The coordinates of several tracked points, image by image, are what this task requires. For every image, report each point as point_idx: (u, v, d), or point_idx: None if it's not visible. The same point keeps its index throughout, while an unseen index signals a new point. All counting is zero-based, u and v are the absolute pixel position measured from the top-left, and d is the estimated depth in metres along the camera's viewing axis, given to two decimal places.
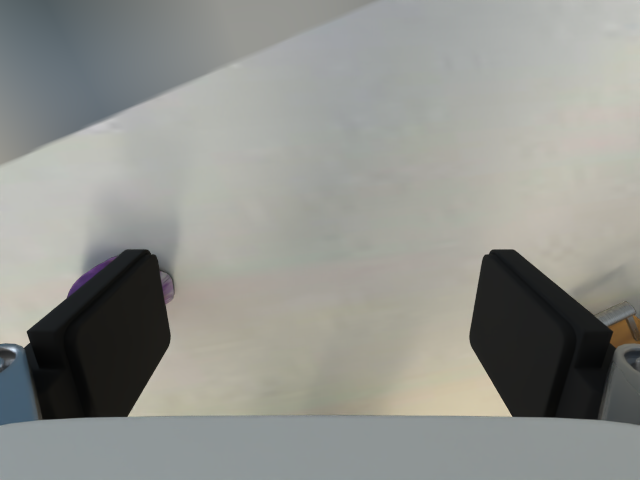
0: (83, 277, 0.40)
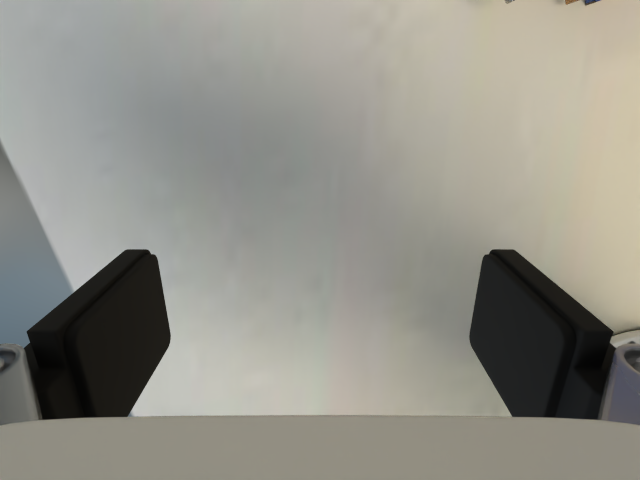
0: None
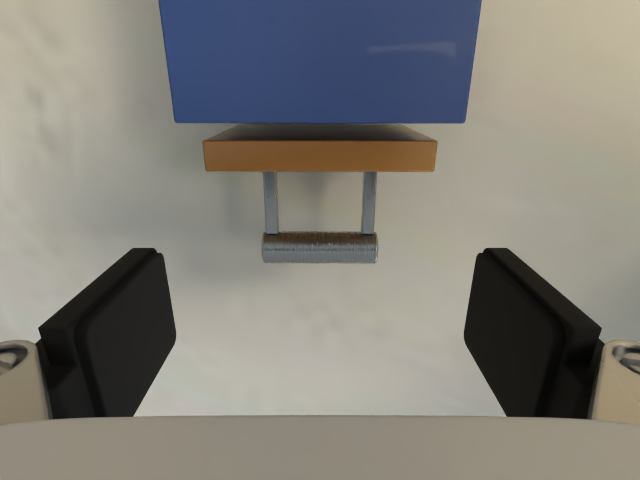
0: None
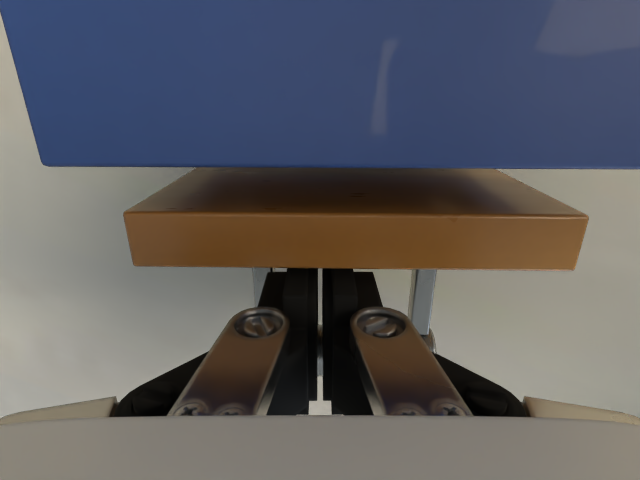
0: None
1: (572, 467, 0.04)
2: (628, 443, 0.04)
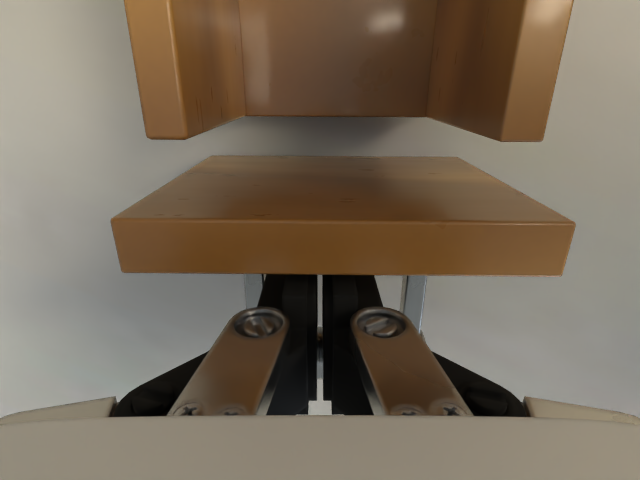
0: None
1: (572, 467, 0.04)
2: (628, 443, 0.04)
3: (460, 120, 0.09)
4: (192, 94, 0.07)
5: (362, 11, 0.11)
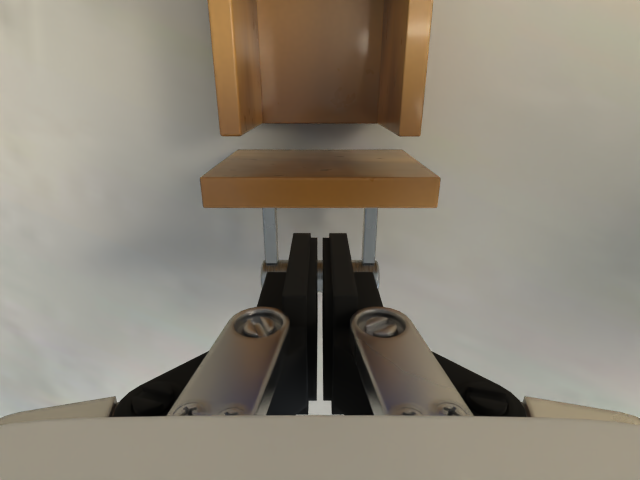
0: None
1: (572, 467, 0.04)
2: (628, 443, 0.04)
3: (388, 125, 0.16)
4: (242, 112, 0.14)
5: (335, 59, 0.18)
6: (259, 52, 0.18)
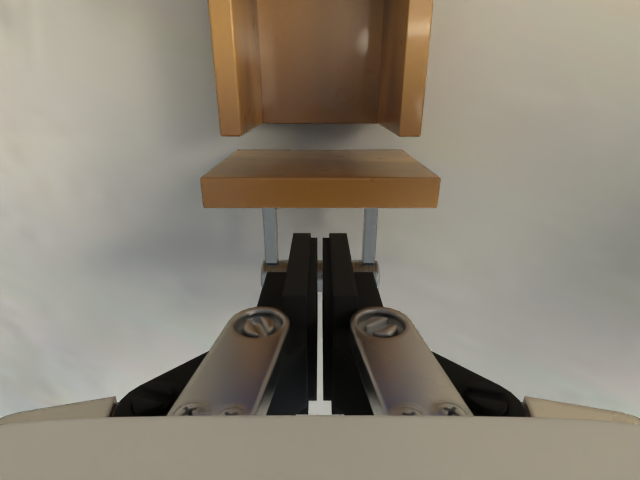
0: None
1: (572, 467, 0.04)
2: (628, 443, 0.04)
3: (389, 125, 0.16)
4: (243, 112, 0.14)
5: (335, 59, 0.18)
6: (259, 52, 0.18)
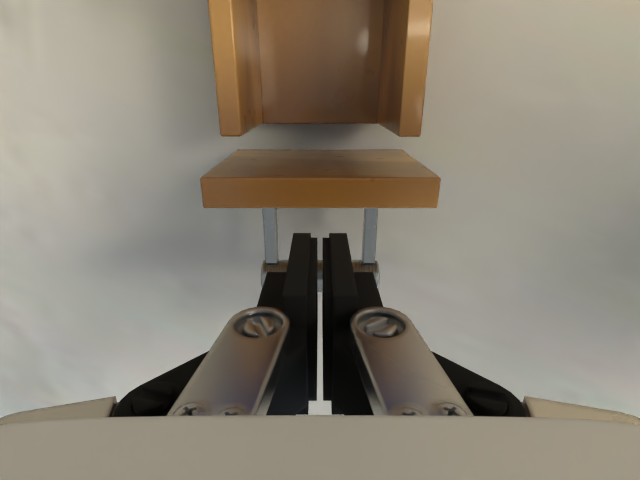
0: None
1: (572, 467, 0.04)
2: (628, 443, 0.04)
3: (389, 125, 0.16)
4: (243, 112, 0.14)
5: (335, 59, 0.18)
6: (259, 52, 0.18)
